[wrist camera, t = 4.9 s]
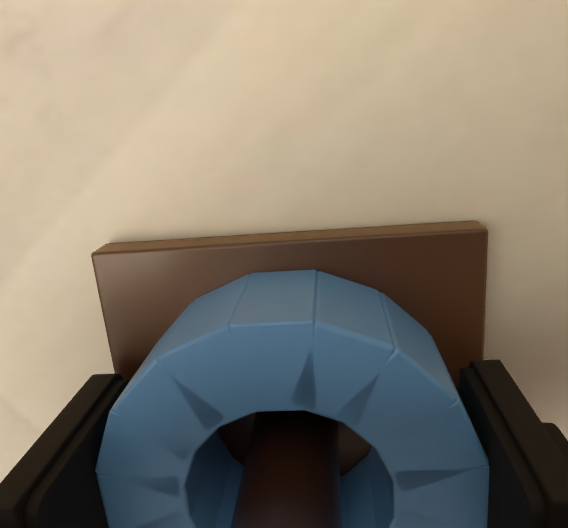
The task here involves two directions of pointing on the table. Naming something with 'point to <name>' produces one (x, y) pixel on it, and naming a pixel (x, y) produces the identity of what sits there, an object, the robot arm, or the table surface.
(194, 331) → the tape roll
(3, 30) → the table surface
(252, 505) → the peg stand
